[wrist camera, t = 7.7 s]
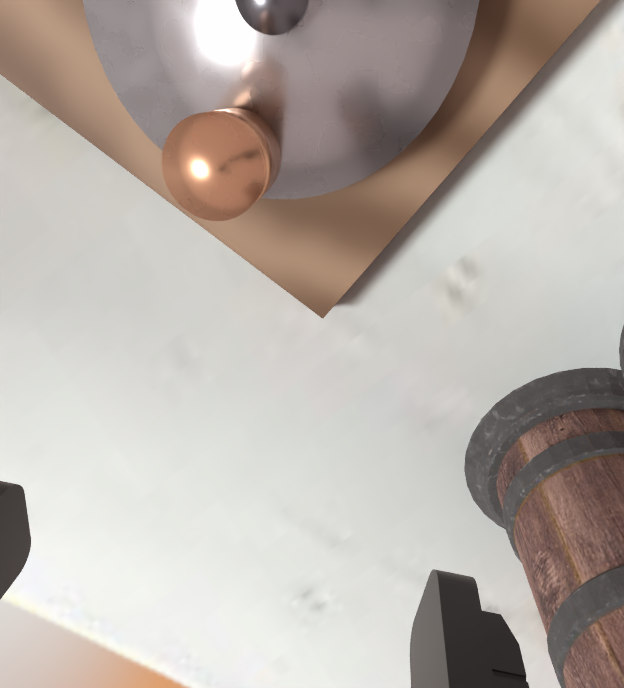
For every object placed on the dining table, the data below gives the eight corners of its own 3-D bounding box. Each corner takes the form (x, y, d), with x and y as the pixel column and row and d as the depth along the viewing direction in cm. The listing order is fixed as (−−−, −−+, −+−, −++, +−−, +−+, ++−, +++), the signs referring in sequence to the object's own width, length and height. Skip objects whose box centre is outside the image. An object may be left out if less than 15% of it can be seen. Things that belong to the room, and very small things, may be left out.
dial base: (219, -511, 22) (203, -569, 20) (640, -57, 27) (661, -69, 25) (-5, 54, 33) (-30, 53, 31) (325, 307, 38) (322, 320, 36)
